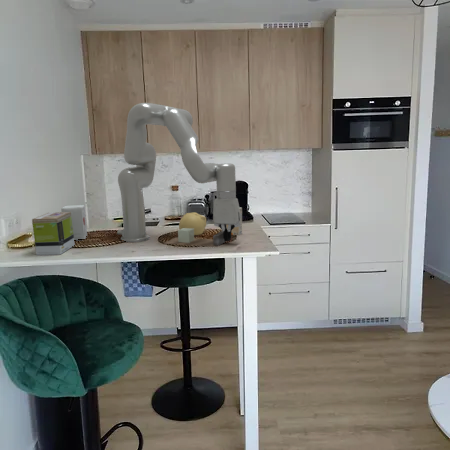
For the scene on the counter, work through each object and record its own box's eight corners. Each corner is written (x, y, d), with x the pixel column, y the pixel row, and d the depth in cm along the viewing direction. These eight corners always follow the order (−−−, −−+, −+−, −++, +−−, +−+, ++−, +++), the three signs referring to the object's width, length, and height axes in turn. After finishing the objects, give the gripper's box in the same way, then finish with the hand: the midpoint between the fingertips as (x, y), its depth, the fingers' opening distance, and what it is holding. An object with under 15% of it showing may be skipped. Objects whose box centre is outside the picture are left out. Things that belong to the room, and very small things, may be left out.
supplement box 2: (221, 236, 190) (220, 207, 188) (225, 234, 195) (224, 206, 192) (239, 237, 187) (238, 208, 185) (242, 235, 192) (242, 206, 189)
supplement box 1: (84, 240, 191) (81, 207, 188) (63, 241, 189) (60, 208, 186) (87, 236, 199) (85, 204, 197) (67, 237, 198) (64, 205, 195)
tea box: (52, 246, 180) (48, 211, 177) (75, 246, 180) (72, 211, 177) (35, 255, 165) (31, 218, 163) (60, 255, 165) (57, 217, 162)
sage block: (178, 242, 176) (177, 230, 175) (183, 239, 181) (183, 228, 180) (189, 242, 175) (188, 230, 174) (194, 240, 179) (193, 228, 178)
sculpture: (210, 234, 197) (209, 211, 195) (196, 239, 186) (195, 215, 184) (189, 232, 202) (188, 210, 200) (174, 237, 192) (173, 213, 190)
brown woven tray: (162, 245, 175) (162, 233, 174) (175, 239, 186) (175, 228, 185) (217, 249, 167) (217, 236, 166) (227, 242, 178) (227, 230, 177)
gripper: (205, 196, 167) (206, 241, 171) (241, 196, 162) (242, 243, 166) (212, 193, 174) (213, 237, 177) (247, 194, 169) (248, 239, 172)
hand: (227, 240), depth 171 cm, fingers closed
